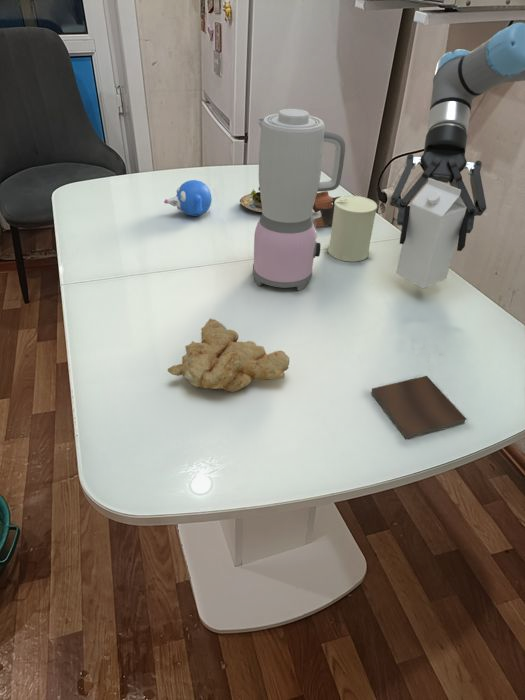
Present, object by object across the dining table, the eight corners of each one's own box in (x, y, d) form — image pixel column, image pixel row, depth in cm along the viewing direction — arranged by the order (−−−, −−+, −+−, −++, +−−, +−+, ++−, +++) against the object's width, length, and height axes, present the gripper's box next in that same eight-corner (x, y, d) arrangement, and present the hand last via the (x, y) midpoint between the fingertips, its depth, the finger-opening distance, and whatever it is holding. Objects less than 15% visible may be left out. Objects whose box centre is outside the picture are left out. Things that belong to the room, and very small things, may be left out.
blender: (249, 290, 101) (253, 119, 82) (254, 261, 111) (259, 101, 91) (328, 296, 101) (352, 125, 81) (326, 266, 111) (347, 106, 91)
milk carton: (418, 265, 107) (440, 174, 95) (446, 279, 102) (473, 186, 91) (395, 274, 103) (415, 181, 92) (423, 289, 99) (448, 194, 87)
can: (329, 241, 120) (335, 191, 113) (368, 245, 119) (377, 195, 112) (326, 259, 113) (333, 207, 106) (368, 264, 112) (378, 212, 105)
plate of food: (233, 201, 137) (233, 174, 132) (273, 196, 140) (275, 169, 136) (250, 219, 128) (250, 190, 123) (292, 213, 132) (294, 185, 127)
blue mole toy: (159, 209, 131) (156, 176, 126) (203, 203, 135) (202, 171, 130) (171, 228, 123) (169, 194, 117) (218, 221, 126) (218, 188, 121)
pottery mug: (304, 231, 125) (297, 197, 123) (302, 232, 134) (295, 200, 133) (353, 219, 124) (346, 184, 123) (347, 220, 133) (340, 188, 132)
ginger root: (151, 361, 81) (158, 317, 77) (231, 346, 91) (241, 307, 87) (203, 422, 72) (215, 377, 68) (286, 398, 82) (300, 357, 78)
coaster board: (425, 380, 82) (426, 375, 81) (464, 423, 75) (466, 418, 74) (370, 393, 79) (371, 388, 79) (406, 439, 72) (407, 434, 71)
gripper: (501, 149, 100) (487, 258, 97) (385, 139, 103) (369, 244, 101) (515, 128, 93) (501, 245, 90) (389, 117, 96) (372, 230, 93)
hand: (431, 245), depth 95 cm, fingers closed on milk carton, 10 cm apart
